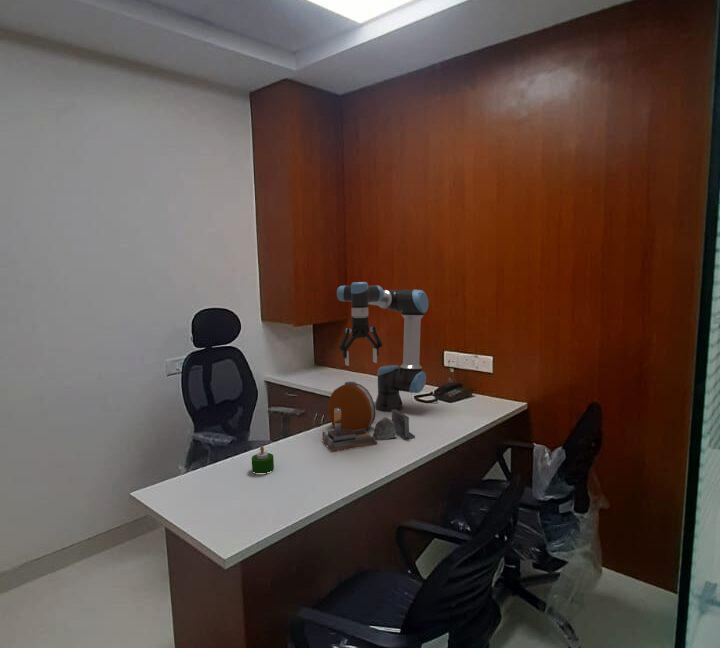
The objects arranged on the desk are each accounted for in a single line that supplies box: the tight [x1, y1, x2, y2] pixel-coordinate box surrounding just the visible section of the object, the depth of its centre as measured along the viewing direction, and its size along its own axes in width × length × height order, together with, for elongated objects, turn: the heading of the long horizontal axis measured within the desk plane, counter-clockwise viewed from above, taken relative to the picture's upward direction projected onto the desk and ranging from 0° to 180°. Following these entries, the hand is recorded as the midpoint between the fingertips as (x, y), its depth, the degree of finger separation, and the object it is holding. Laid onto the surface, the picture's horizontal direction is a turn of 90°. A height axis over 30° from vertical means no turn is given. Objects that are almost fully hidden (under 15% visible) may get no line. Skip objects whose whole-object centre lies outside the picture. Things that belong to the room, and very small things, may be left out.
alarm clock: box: [327, 381, 376, 431], centre depth 235 cm, size 22×10×23 cm, turn 65°
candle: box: [251, 445, 275, 473], centre depth 188 cm, size 8×8×10 cm
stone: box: [372, 416, 397, 441], centre depth 221 cm, size 10×10×10 cm
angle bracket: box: [391, 409, 416, 441], centre depth 224 cm, size 14×5×10 cm, turn 21°
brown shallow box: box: [321, 429, 378, 452], centre depth 215 cm, size 14×21×4 cm, turn 111°
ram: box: [327, 408, 356, 443], centre depth 213 cm, size 8×10×15 cm
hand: (361, 363), depth 218 cm, fingers open, 13 cm apart
